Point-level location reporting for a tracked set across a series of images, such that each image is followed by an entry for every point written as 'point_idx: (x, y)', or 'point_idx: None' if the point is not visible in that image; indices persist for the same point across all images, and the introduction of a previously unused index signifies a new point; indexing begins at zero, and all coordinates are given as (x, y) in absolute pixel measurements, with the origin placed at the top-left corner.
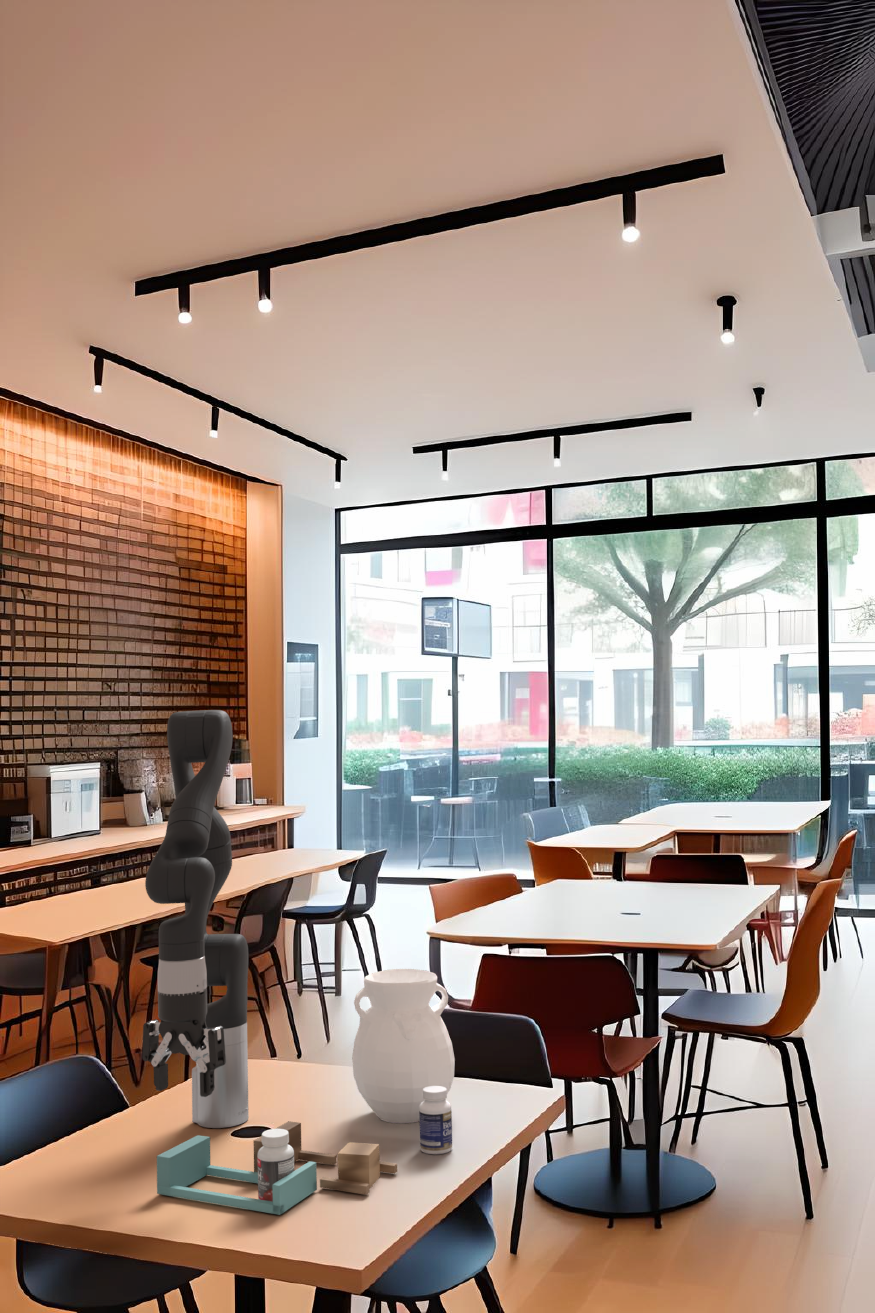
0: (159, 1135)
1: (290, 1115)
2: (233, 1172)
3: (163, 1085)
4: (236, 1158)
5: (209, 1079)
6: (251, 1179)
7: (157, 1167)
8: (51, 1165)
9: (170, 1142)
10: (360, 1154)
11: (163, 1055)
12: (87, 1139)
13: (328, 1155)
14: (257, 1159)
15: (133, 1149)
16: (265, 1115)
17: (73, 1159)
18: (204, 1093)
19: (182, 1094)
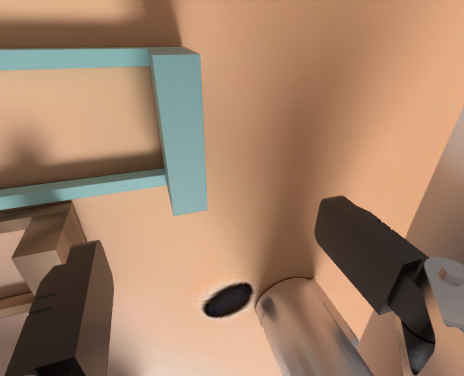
0: None
1: (220, 345)
2: (96, 183)
3: (327, 225)
4: (180, 241)
5: (22, 343)
6: (47, 185)
7: (191, 51)
8: (429, 91)
9: (307, 230)
10: None
11: (449, 348)
12: (412, 185)
13: (2, 313)
14: (52, 225)
15: (342, 191)
16: (247, 330)
17: (407, 125)
18: (70, 257)
19: (362, 310)
